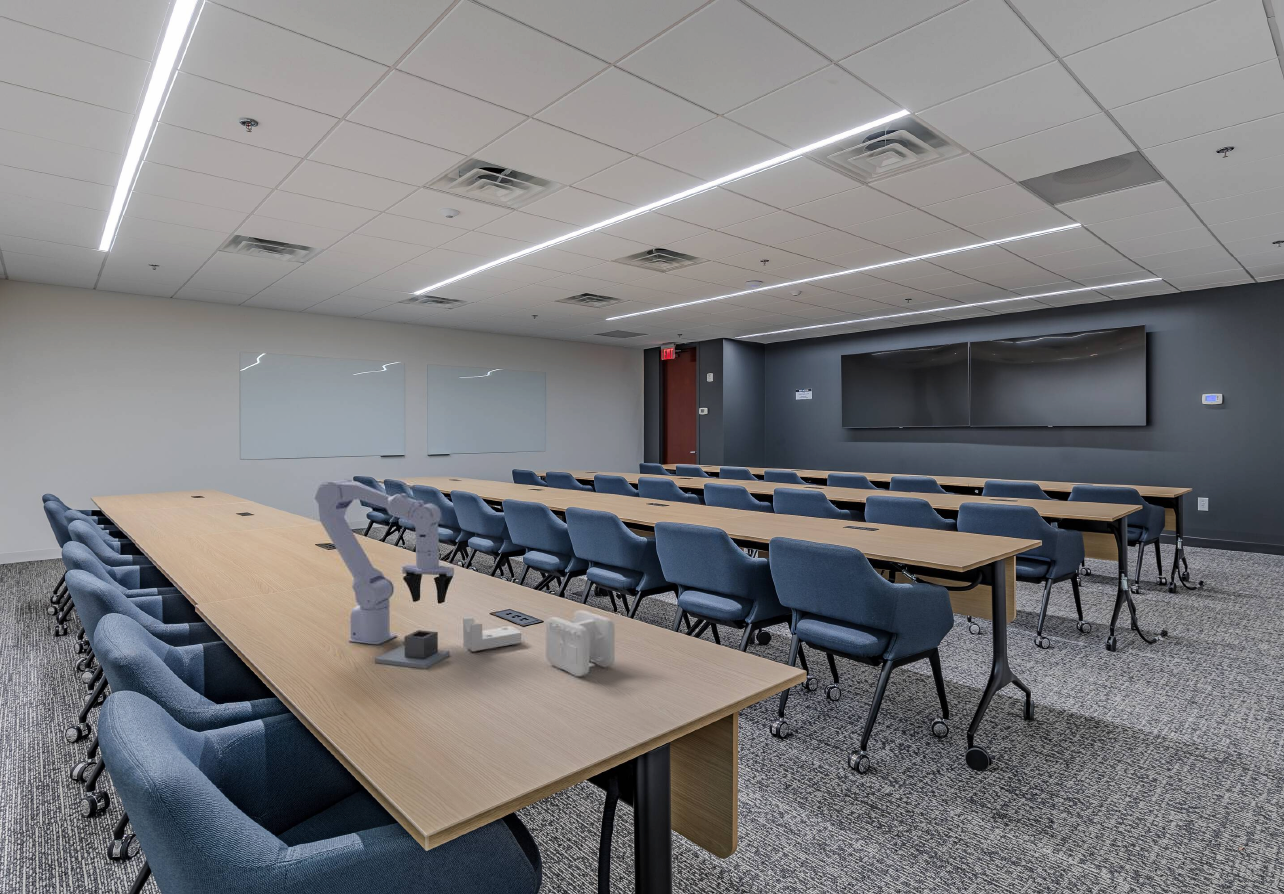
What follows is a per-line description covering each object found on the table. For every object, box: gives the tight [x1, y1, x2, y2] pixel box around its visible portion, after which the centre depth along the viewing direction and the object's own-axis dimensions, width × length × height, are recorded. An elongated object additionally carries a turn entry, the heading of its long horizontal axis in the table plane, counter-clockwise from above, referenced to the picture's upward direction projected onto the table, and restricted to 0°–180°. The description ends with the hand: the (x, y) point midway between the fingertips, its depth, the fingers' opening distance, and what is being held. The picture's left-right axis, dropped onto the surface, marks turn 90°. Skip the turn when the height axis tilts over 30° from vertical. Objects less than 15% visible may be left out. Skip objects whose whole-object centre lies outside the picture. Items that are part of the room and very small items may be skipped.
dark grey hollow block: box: [404, 629, 439, 659], centre depth 164 cm, size 6×6×5 cm
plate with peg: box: [374, 645, 450, 670], centre depth 164 cm, size 14×10×4 cm
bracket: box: [462, 616, 523, 652], centre depth 174 cm, size 13×7×8 cm, turn 123°
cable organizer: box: [545, 609, 616, 677], centre depth 158 cm, size 15×11×12 cm
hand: (428, 601), depth 178 cm, fingers open, 7 cm apart
